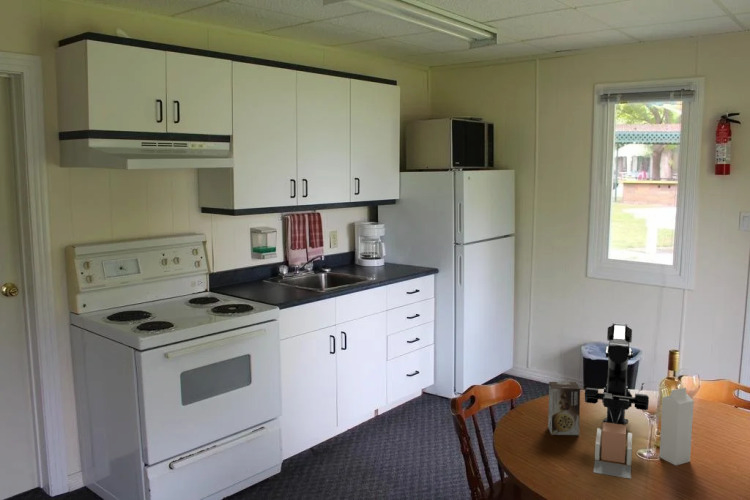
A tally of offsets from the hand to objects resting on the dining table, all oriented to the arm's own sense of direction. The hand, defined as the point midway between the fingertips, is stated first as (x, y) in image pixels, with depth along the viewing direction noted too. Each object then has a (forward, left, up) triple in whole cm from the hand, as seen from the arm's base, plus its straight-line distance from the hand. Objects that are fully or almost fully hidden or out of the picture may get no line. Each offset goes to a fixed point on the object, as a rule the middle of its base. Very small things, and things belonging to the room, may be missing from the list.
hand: (614, 424), depth 193 cm
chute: (+7, +2, -8) cm, 11 cm away
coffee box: (-3, -18, -9) cm, 20 cm away
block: (+5, +2, -8) cm, 10 cm away
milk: (-6, +16, -9) cm, 19 cm away
